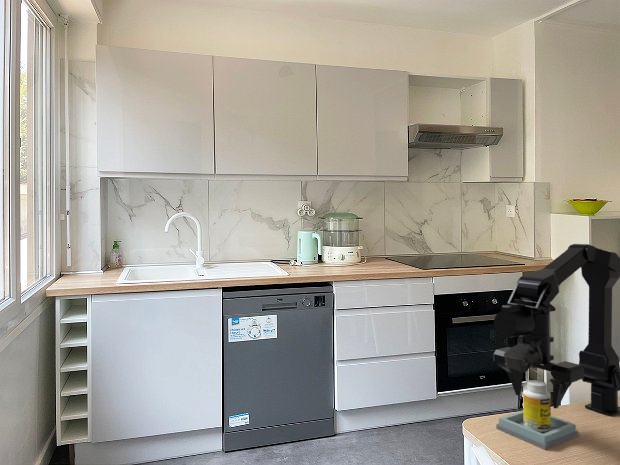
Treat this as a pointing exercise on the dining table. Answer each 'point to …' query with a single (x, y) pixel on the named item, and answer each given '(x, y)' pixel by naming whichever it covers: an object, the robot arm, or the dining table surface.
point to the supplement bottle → (537, 406)
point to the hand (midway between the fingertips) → (536, 401)
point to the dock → (544, 440)
